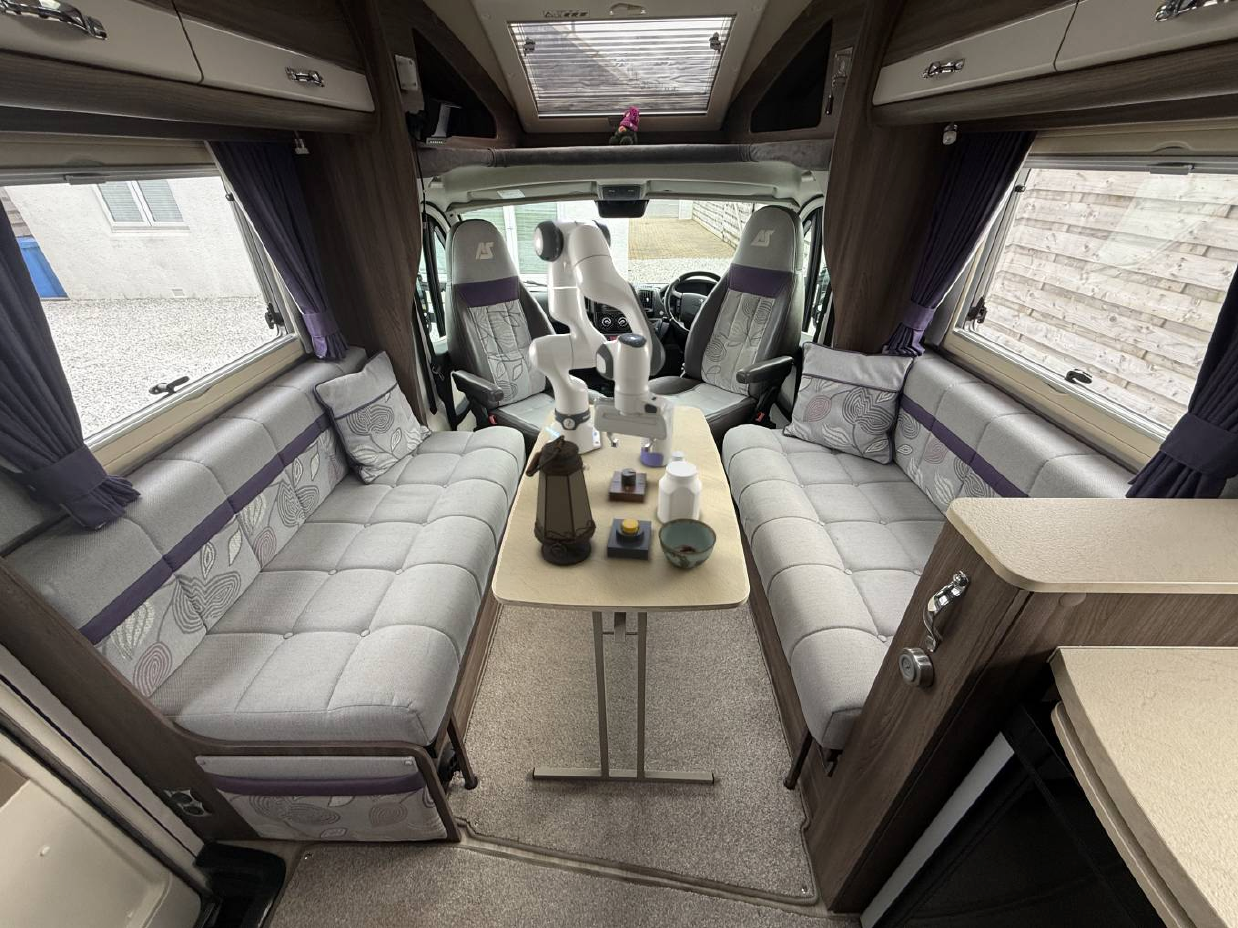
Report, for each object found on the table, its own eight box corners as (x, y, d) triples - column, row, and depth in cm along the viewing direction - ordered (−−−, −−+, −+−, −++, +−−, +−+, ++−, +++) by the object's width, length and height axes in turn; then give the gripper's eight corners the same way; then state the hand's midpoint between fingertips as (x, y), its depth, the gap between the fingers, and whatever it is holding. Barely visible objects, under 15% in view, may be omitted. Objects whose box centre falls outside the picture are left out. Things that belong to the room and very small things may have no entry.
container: (676, 459, 166) (680, 403, 157) (659, 470, 160) (662, 412, 150) (652, 450, 172) (655, 395, 162) (634, 460, 165) (636, 404, 156)
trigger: (623, 523, 127) (623, 518, 126) (638, 524, 126) (638, 519, 125) (621, 533, 123) (621, 527, 122) (637, 534, 123) (637, 528, 122)
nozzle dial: (620, 485, 146) (620, 474, 144) (621, 477, 150) (622, 466, 148) (635, 486, 145) (635, 475, 144) (636, 478, 149) (636, 467, 147)
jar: (658, 525, 134) (661, 477, 126) (656, 505, 142) (658, 459, 135) (701, 525, 134) (706, 477, 126) (696, 505, 142) (700, 459, 135)
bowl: (689, 537, 129) (691, 511, 126) (725, 566, 120) (728, 539, 116) (646, 555, 123) (647, 529, 119) (680, 587, 113) (682, 560, 109)
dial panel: (614, 479, 155) (614, 470, 153) (646, 481, 154) (646, 472, 152) (609, 500, 144) (609, 491, 143) (643, 503, 143) (643, 493, 142)
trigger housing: (613, 528, 133) (613, 512, 130) (651, 530, 132) (651, 515, 129) (607, 557, 122) (607, 540, 120) (647, 560, 121) (648, 544, 119)
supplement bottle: (683, 487, 151) (686, 458, 146) (666, 485, 152) (667, 457, 147) (685, 478, 155) (687, 450, 151) (668, 476, 156) (669, 448, 152)
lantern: (591, 576, 116) (587, 464, 102) (527, 571, 118) (514, 460, 103) (601, 529, 132) (599, 426, 118) (545, 525, 134) (536, 423, 119)
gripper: (589, 399, 127) (590, 448, 133) (667, 409, 121) (665, 459, 127) (598, 391, 132) (599, 438, 138) (673, 400, 126) (670, 449, 133)
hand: (631, 449), depth 133 cm, fingers open, 8 cm apart
